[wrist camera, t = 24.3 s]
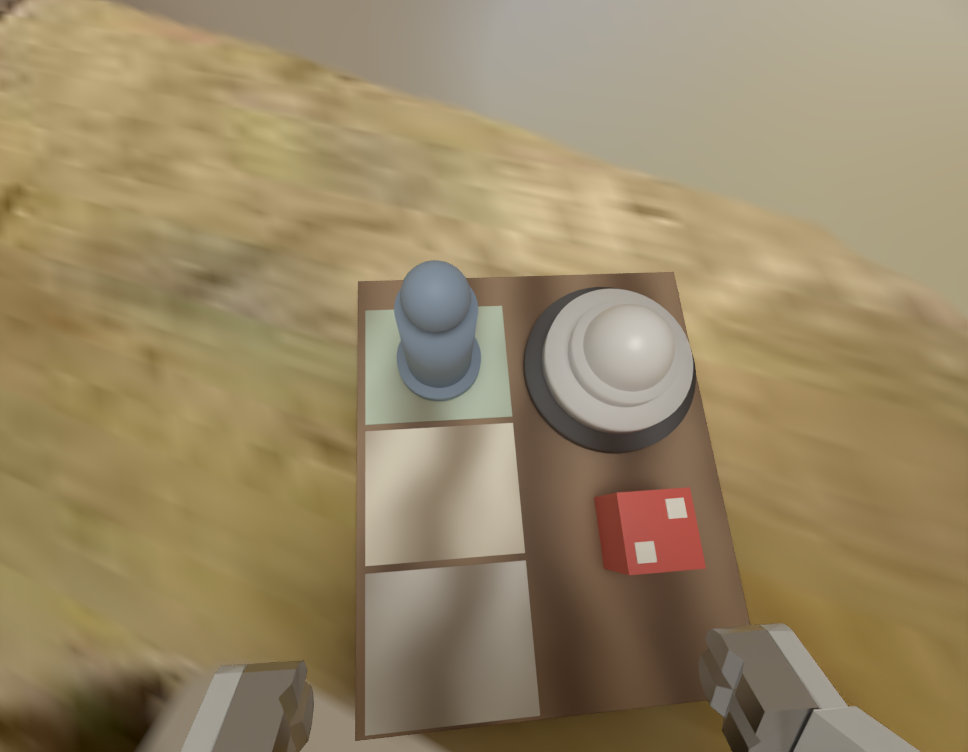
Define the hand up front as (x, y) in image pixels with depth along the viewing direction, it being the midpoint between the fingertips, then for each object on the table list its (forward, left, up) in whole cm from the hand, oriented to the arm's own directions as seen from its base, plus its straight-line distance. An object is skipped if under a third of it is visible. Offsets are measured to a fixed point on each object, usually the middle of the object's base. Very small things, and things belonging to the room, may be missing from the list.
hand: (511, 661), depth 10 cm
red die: (-10, -2, -18) cm, 21 cm away
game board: (-5, -6, -20) cm, 21 cm away
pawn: (+1, -13, -18) cm, 22 cm away
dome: (-10, -12, -17) cm, 23 cm away
